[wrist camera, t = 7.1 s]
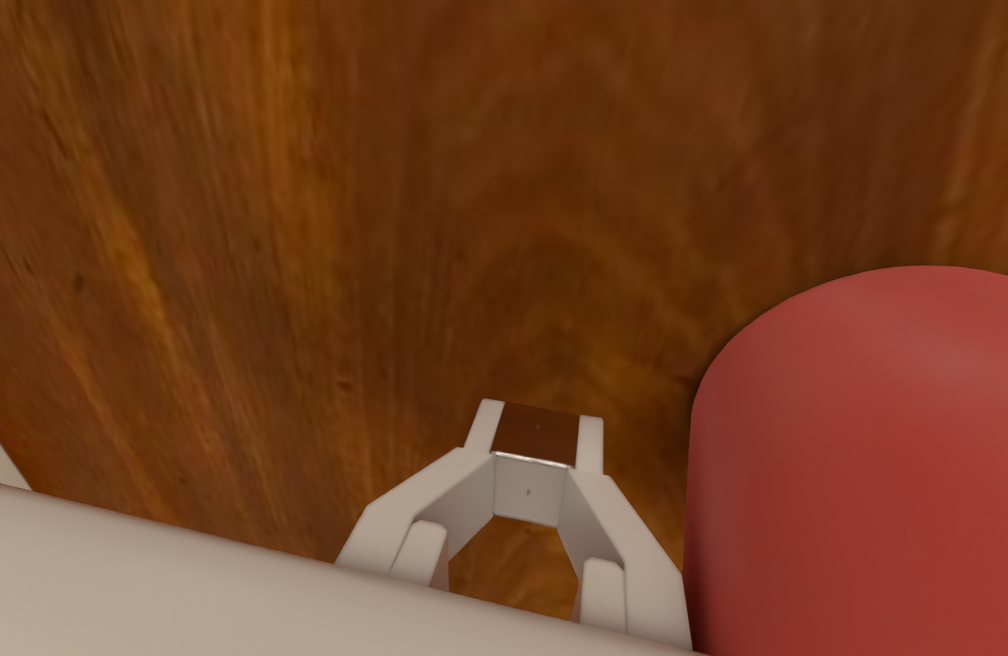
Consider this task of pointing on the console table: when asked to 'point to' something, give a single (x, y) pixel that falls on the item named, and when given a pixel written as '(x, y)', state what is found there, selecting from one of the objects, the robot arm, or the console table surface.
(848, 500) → the flower pot
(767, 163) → the console table surface
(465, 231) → the console table surface
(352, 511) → the console table surface
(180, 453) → the console table surface
